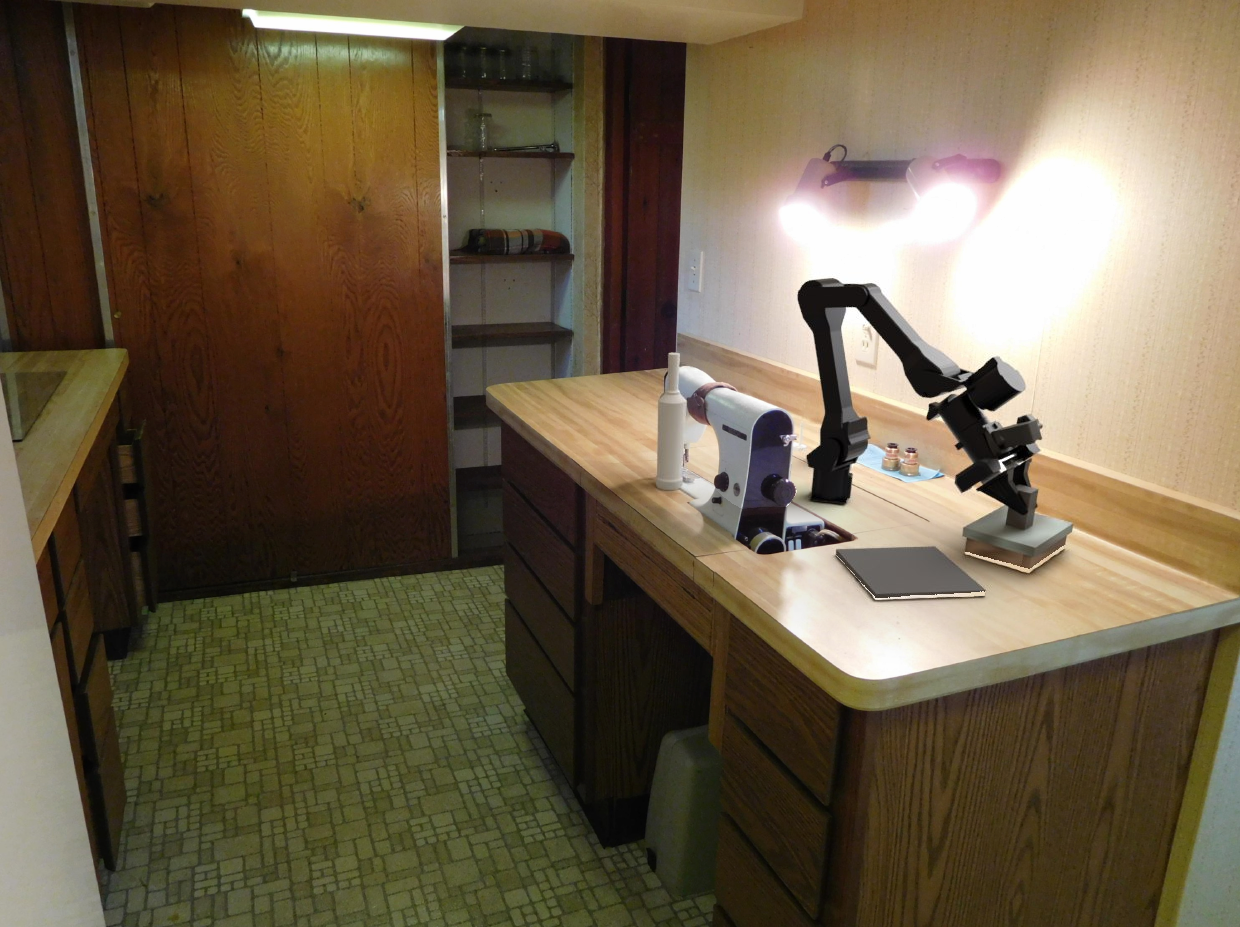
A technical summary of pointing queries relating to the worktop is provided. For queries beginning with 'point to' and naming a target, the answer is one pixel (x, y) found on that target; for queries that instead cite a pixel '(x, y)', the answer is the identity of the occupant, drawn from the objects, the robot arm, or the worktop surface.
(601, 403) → the worktop surface
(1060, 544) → the brown wooden flat frame
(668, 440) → the bottle
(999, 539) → the lid
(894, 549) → the rubber mat
